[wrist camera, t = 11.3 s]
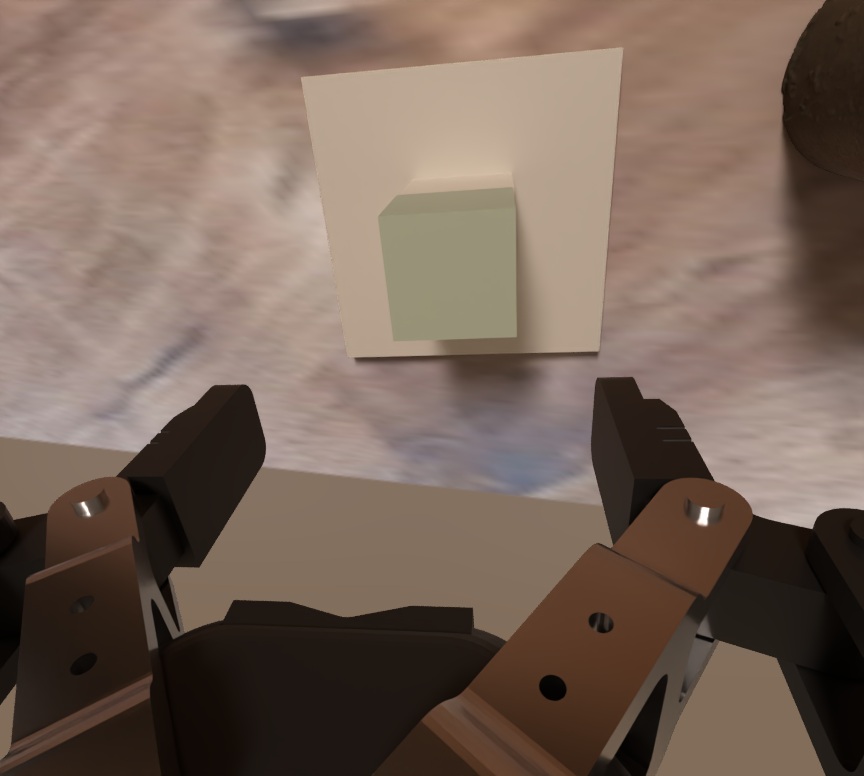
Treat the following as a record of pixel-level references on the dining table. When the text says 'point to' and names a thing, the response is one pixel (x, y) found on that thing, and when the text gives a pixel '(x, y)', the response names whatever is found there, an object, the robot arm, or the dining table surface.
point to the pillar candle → (829, 89)
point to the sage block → (451, 264)
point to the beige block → (459, 183)
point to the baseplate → (466, 156)
